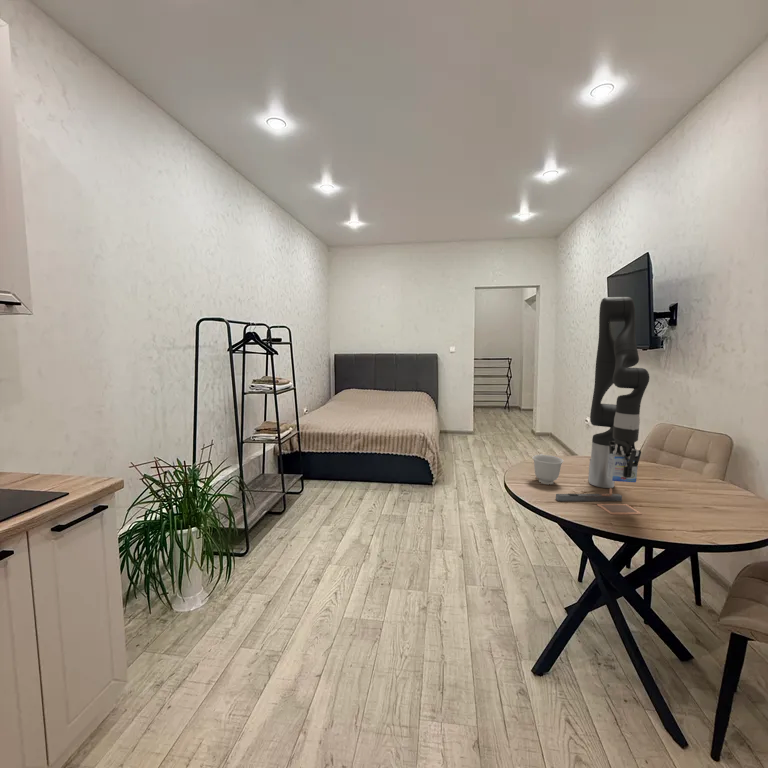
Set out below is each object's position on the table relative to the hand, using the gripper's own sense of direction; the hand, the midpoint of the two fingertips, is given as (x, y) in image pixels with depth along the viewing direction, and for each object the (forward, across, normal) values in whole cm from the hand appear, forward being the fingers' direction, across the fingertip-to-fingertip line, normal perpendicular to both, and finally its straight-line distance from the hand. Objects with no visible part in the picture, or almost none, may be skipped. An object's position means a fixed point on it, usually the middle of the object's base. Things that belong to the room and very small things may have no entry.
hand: (621, 474), depth 142 cm
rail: (+13, -8, -6) cm, 16 cm away
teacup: (+13, -29, -13) cm, 34 cm away
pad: (+13, 0, 0) cm, 13 cm away
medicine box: (+2, 0, 0) cm, 2 cm away
